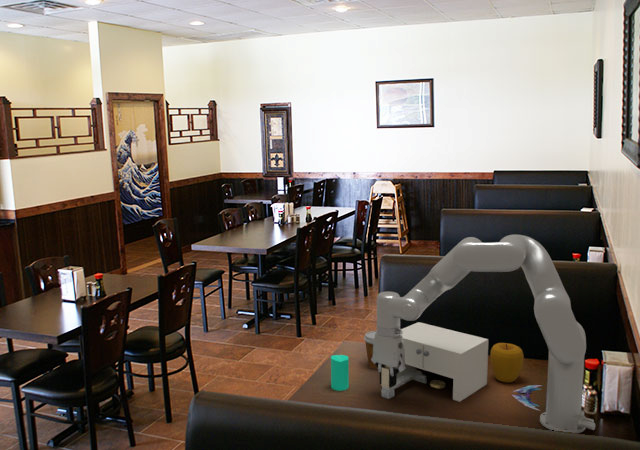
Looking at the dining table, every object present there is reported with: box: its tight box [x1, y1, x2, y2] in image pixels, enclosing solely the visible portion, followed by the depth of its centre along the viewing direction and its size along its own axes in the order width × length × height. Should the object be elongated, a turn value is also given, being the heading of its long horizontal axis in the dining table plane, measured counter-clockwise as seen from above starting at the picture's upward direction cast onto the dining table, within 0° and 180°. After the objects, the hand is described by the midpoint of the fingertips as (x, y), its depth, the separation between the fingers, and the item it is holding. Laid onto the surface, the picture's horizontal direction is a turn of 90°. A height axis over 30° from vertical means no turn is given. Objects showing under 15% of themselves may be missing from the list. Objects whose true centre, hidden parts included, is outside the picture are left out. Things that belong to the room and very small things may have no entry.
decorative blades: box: [511, 384, 543, 411], centre depth 195 cm, size 20×1×10 cm
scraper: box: [380, 365, 428, 400], centre depth 201 cm, size 19×7×10 cm, turn 137°
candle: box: [330, 354, 350, 392], centre depth 202 cm, size 6×6×12 cm
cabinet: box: [397, 321, 489, 403], centre depth 206 cm, size 28×19×16 cm
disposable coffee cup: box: [363, 330, 378, 370], centre depth 220 cm, size 10×10×12 cm
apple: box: [489, 342, 525, 383], centre depth 207 cm, size 11×11×13 cm
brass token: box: [429, 379, 446, 390], centre depth 204 cm, size 5×5×1 cm
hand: (387, 384), depth 195 cm, fingers closed on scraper, 3 cm apart
